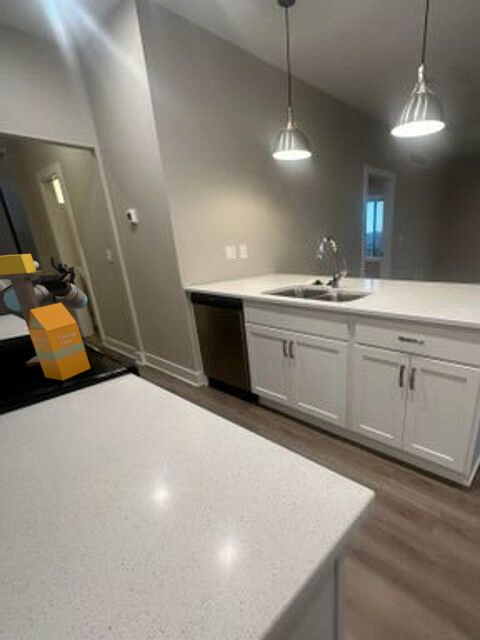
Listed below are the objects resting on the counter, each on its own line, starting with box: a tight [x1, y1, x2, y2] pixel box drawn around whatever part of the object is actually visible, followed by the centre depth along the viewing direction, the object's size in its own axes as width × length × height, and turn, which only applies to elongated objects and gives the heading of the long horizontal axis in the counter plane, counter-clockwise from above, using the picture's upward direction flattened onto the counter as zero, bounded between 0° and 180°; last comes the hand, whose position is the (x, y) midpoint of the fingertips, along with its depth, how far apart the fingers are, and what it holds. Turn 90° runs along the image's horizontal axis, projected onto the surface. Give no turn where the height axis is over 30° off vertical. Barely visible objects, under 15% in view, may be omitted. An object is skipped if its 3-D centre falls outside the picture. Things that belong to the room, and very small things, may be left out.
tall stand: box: [0, 269, 44, 367], centre depth 106 cm, size 10×6×28 cm, turn 104°
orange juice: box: [27, 303, 91, 381], centre depth 97 cm, size 8×9×20 cm
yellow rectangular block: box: [0, 253, 40, 275], centre depth 104 cm, size 7×14×5 cm, turn 14°
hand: (27, 262), depth 107 cm, fingers open, 13 cm apart
